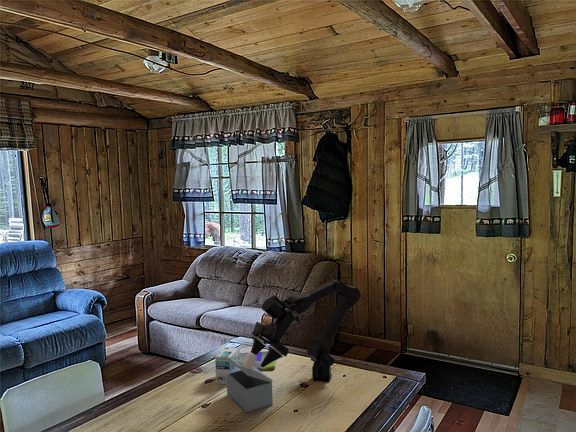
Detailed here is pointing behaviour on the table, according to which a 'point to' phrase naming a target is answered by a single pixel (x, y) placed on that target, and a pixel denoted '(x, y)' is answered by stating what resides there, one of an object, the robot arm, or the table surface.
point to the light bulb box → (226, 363)
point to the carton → (249, 391)
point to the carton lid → (250, 367)
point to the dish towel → (260, 361)
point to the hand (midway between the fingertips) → (255, 362)
